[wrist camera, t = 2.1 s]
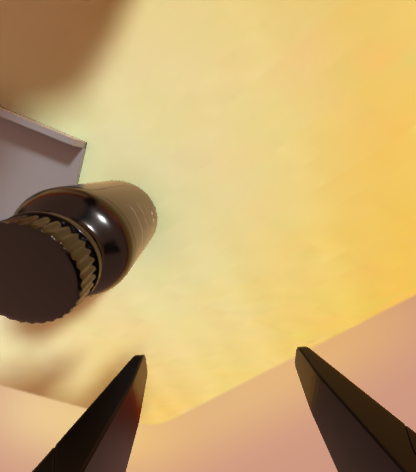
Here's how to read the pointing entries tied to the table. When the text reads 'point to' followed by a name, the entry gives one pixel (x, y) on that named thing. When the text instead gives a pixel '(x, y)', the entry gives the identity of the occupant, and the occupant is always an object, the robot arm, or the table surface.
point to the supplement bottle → (70, 247)
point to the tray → (34, 160)
